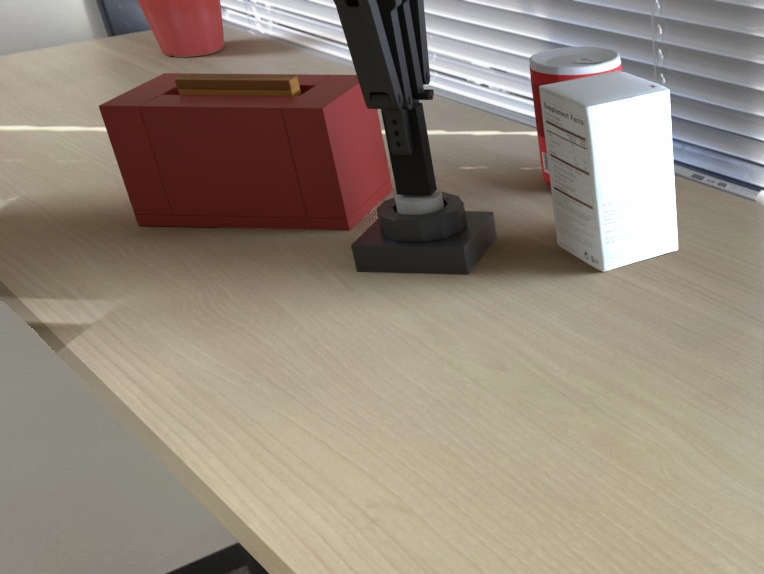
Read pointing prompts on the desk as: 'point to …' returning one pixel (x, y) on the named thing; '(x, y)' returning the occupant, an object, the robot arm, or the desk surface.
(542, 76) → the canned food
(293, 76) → the toast
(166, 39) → the flower pot
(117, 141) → the toaster
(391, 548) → the desk surface
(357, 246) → the button block
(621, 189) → the white packaging box
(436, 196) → the button
